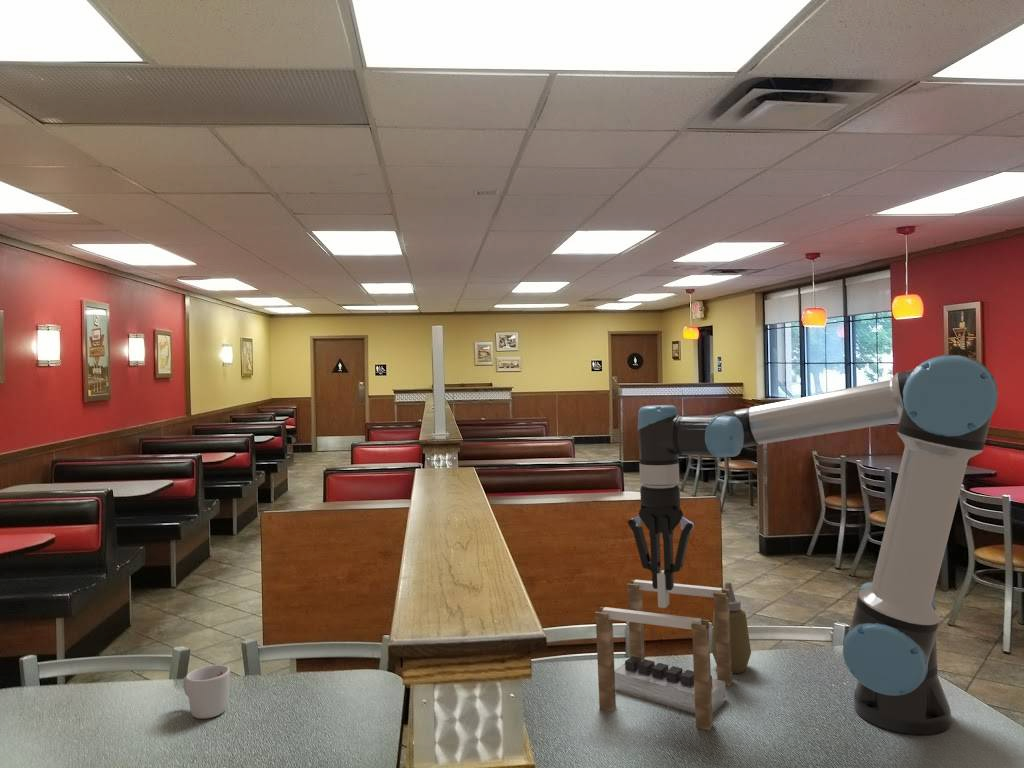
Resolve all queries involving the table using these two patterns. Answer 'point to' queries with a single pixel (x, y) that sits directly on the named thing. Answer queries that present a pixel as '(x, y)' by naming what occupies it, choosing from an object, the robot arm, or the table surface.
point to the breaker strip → (663, 684)
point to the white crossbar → (681, 589)
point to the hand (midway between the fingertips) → (663, 605)
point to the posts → (699, 653)
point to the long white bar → (651, 618)
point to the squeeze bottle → (735, 634)
